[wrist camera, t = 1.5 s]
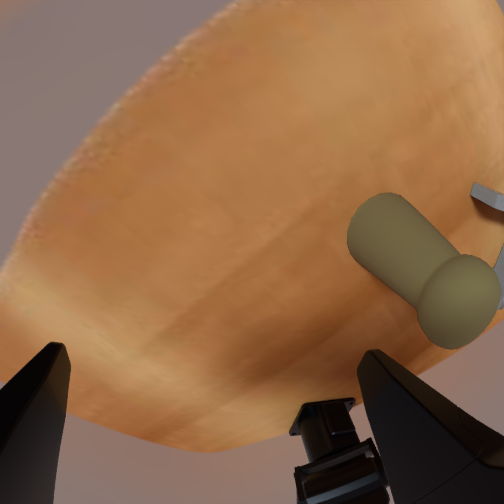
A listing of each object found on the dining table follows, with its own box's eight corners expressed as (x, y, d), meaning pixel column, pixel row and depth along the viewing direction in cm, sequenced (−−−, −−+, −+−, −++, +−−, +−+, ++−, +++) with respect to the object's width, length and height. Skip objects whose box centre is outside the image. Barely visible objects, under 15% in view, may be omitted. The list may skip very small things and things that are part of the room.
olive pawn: (412, 184, 21) (525, 253, 11) (414, 253, 23) (501, 336, 14) (341, 205, 20) (443, 298, 11) (350, 276, 23) (426, 382, 14)
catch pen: (486, 294, 28) (502, 309, 26) (431, 295, 26) (448, 314, 24) (523, 203, 23) (542, 214, 21) (474, 182, 21) (497, 193, 19)
